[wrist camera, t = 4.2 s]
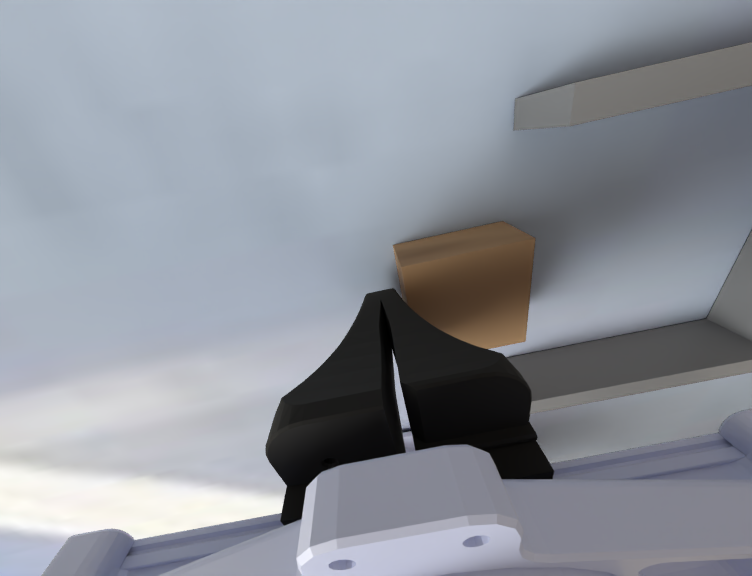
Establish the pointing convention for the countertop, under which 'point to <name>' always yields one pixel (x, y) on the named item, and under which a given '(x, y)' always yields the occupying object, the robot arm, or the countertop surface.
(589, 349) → the grey u-shaped bracket
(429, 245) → the walnut tile
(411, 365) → the robot arm
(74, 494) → the countertop surface
